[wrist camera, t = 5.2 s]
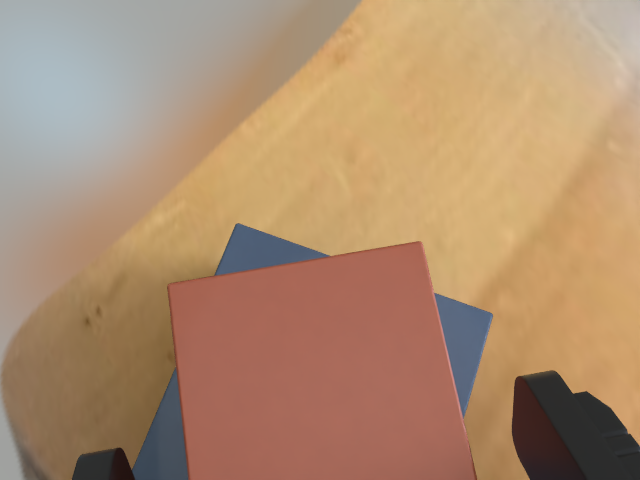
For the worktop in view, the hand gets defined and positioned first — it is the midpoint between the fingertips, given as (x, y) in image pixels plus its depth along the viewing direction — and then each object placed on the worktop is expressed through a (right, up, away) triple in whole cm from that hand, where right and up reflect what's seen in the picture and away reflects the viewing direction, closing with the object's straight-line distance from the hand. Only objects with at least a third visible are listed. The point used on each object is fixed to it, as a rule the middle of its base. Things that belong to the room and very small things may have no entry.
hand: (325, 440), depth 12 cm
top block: (0, -1, +6) cm, 6 cm away
